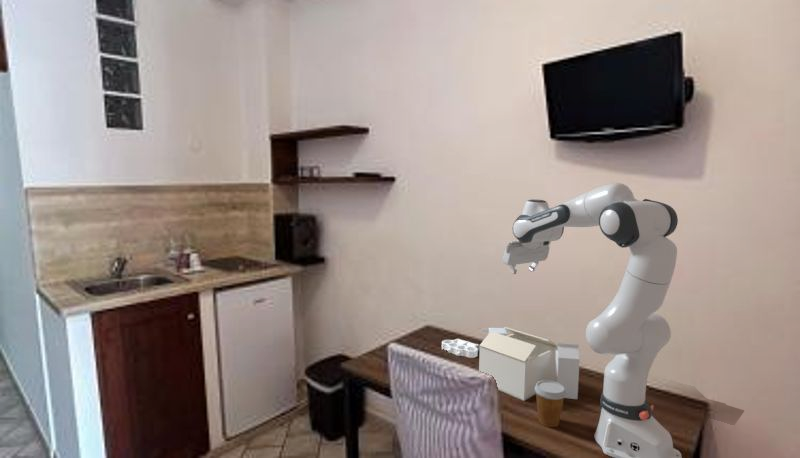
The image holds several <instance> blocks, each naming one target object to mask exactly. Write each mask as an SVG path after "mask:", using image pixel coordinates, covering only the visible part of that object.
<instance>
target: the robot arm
mask: <svg viewBox="0 0 800 458" xmlns="http://www.w3.org/2000/svg"><path fill="white" fill-rule="evenodd" d="M678 221H679V219H678V215H677V211H676V210H675V209H674V208H673V207H672V206H670V205H669V204H666V203H665V202H660V201H657V200H651V199H648V198H644V199H643V200H637V199H636V198H635V196H634V193H633V191H632V189H631V188H630V187H629V186H627V185H625V184H624V183H619V182H614V183H613V182H612V183H609V184H604V185H602V186H599V187H596V188H593V189H591V190H589V191H587V192H584V193H583V194H580V195H578V196H576V197H575V198H572V199H570V200H567V201H565V202H563V203H560V204H558V205H556V206H554V207H549V202H547V201H546V200H544V199H529V200H527V201H526V202H525V204H524V207H523V208H522V214H520V215H519V216H517V218H516V219H515V221H514V222H513V224H512V234H513V235H514V238H515V239H516V240H515V241H510V242H509V243H508V244H506V248H505V250H504V253H503V256H502V262H503V264H505V265H506V266H509V269H510V274H511V275H516V274H517V271H518V270H517V269H516V266H517V265H522V264H529V263H532V264H530V265H529V267H528V271H530V272H535V270H536V268H537V266H538V265H539V264H540V263H539V262H542V261H546V260H547V259H548V256H549V253H550V245H551V243H552V242H555V241H558V240H560V239H561V238H562V236H563V234H564V231H565V230H564V229H565V227H566V228H567V227H571V228H589V227H591V228H592V227H599V229H600V230H601V233H602V234H603V235H604V236H605V237H606V238H607V239H609V240H610V241H612V242H614V243H616V245H617V246H618V247H620V248H629V249H630V251H629V252H630V256H629V260H628V263H627V265H626V269H625V271H624V275H623V278H622V281H621V284H620V286H619V288H618V290H617V293H616V294H615V296H614V298H613V299H612V300H611V301H610V303H609V304H608V305H607V306H606V308H605V309H604V310H603V311H602V312H601V313H600V314H599V315H598V316H597V317H595V318H593V319H592V320H590V321H589V322H588V323H587V326H586V328H585V339H586V342H587V344H588V346H589V347H590V349H591V350H592V351H594V352H595V353H597V354H600V355H605V356H614V357H613V358H612V360H610V361H609V362H608V363H607V364H606V366H605V367H604V371H603V372H604V373H603V390H602V391H601V396H600V415H599V416H600V417H599V421H598V425H597V427H596V430H595V432H594V439H595V441H596V443H597V444H598V445H599V446H600V447H601V449H602V451H603V453H604V455H606V456H609V457H612V458H683V457H682V453H681V451H679V450H678V449H676V448H674V444H673V437H672V435H671V434H670V432H669V431H668V430H667V429H666V428H665V427H664V426H663V425H661V423H660V422H659V421H658V420H657V419H656V418H655V417H654V416H653V415H652V413H653V410H654V404H651V406H650V405H649V403H648V402H647V399H646V392H647V384H648V377H649V373H650V371H651V368H652V366H653V363H654V362H655V359H656V358H657V355H658V354H659V353H660V352H661V350H662V349H663V348H664V347H665V346H666V345H667V344H668V343H669V342H670V340H671V337H672V332H671V328H670V327H671V326H670V325H669V323H668V321H667V320H666V319H665V318H664V317H663V316H661V315H659V314H656V312H657V311H659V310H660V308H661V307H662V305H663V304H664V301H665V298H666V295H667V292H668V290H669V288H670V286H671V285H670V284H671V282H672V279H673V275H674V273H675V270H676V269H675V267H676V262H677V258H678V257H677V256H678V248H677V245H676V244H675V242H673V241H672V240H671V239H669V238H668V236H670V235H671V234H673V233H675V231H676V229H677V226H678Z"/></svg>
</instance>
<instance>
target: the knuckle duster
mask: <svg viewBox="0 0 800 458" xmlns="http://www.w3.org/2000/svg"><path fill="white" fill-rule="evenodd" d="M443 349H444V351H446V350H447V351H448V352H447V353H449V354H451V353H452V355H456V356H459V357H466V358H469V359H474V358H476V357H479V356H478V355H479V354H478V353H479V351H480V344H478V343H473V342H471V341H469V340H464V339H460V338H456V339H444V340H442V341H441V350H443Z"/></svg>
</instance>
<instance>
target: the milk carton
mask: <svg viewBox="0 0 800 458" xmlns="http://www.w3.org/2000/svg"><path fill="white" fill-rule="evenodd" d="M556 345H557V348H556V355H555V375H554V382H557V383H559V384H561V385H562V386H564V388H565V391H566V395H565V397H564V399H571V400H578V395H579V394H578V393H579V375H580V360H581V359H580V351H579V343H578V344H577V343H565V342H564V343H562V342H557V344H556Z"/></svg>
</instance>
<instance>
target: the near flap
mask: <svg viewBox="0 0 800 458" xmlns="http://www.w3.org/2000/svg"><path fill="white" fill-rule="evenodd" d="M479 345H480V347H483V348H486V349H488V350H491V351H494V352H497V353H500V354H503V355H505V356H508V357H511V358H514V359H517V360H519V361H522V362H526V361H527V359H528V358H529V357H530V355H531V354H532V352H533V351H534V349H535V348H536V345H533V344H530V343H527V342H524V341H520V340H517V339H514V338H511V337H508V335H507V336H505V335H501V334H498V333H495V332H492V331H491V332H490V333H489V334H487V335H486V337H484V339H483V340H482V342H481V343H480V344H479Z"/></svg>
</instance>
